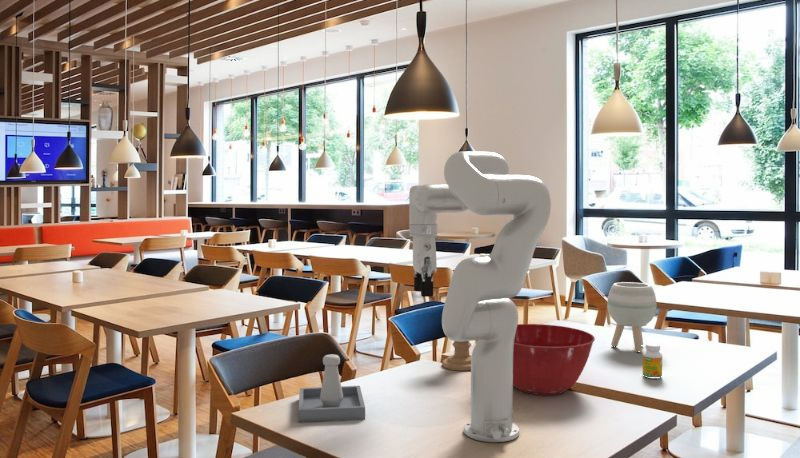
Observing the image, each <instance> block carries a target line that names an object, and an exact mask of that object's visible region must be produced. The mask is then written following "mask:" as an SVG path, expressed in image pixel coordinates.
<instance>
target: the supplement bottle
mask: <svg viewBox="0 0 800 458" xmlns="http://www.w3.org/2000/svg"><path fill="white" fill-rule="evenodd" d="M660 350H661V345H660V344H659V343H655V342H653V343H652V342H651V343H650V342H649V343H645V351H643V353H642V376H643V375H644V376H647V377H661V376H662V377H663V353H662V352H661V351H660Z"/></svg>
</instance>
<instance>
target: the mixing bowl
mask: <svg viewBox="0 0 800 458" xmlns="http://www.w3.org/2000/svg"><path fill="white" fill-rule="evenodd" d="M595 337H596V336H594V335H593V334H591V333H589V332H588V331H585V330H582V329H578V328H573V327H569V326H562V325H553V324H543V323H541V324H537V323H518V324H517V329H516V334H515V340H514V350H513V387H515V388H517V389H518V390H519V391H522V392H524V393H528V394H532V395H541V396H542V395H543V396H553V395H560V394H562V393H564V392H566V391H567V390H569V389H571V388H572V387H573V386H574V385H575V384H576V383H577V381H578V380H579V378H580V376H581V375H582V373H583V371H584V369H585V368H586V365H587V363H588V360H589V357H590V353H591V351H592V347H593V343H594V342H595V340H596V338H595Z"/></svg>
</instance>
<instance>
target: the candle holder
mask: <svg viewBox="0 0 800 458" xmlns="http://www.w3.org/2000/svg"><path fill="white" fill-rule="evenodd" d="M452 346H453V348H454V352H453V354H451V355H449V356H448V357H446V358H445V359H443V360H442V363H441V364H442V367H444V368H445V369H447V370H450V371H451V370H452V371H459V372H463V371H464V372H465V371H467V372H468V371H471V356H472V354H471V355H470V348H471V347H472V343H471V342H470V341H463V342H457V341H453V342H452Z"/></svg>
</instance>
